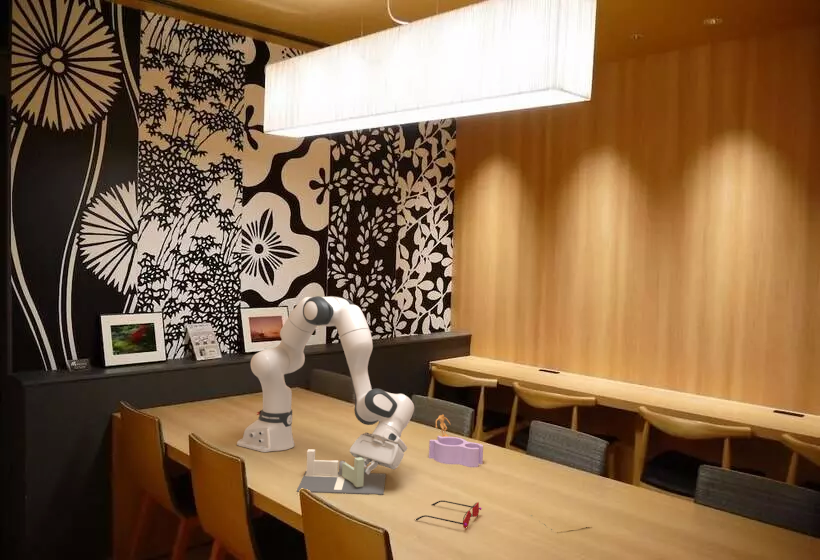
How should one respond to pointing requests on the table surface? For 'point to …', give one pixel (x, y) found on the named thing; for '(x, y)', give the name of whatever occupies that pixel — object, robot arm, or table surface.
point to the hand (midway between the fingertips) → (364, 472)
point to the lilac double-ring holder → (456, 451)
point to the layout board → (343, 484)
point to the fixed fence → (320, 465)
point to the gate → (353, 471)
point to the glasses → (465, 521)
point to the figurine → (442, 425)
